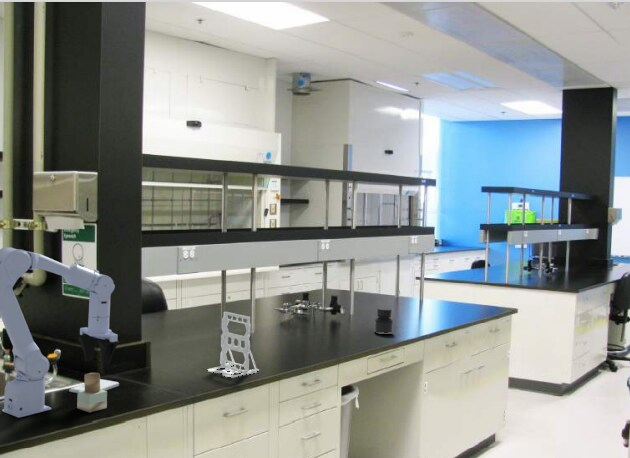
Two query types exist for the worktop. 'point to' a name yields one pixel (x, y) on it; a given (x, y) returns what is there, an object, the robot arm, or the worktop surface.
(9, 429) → the worktop surface
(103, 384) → the external hard drive
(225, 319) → the grey upright openwork frame
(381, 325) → the ink bottle
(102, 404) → the slab lower
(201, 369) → the worktop surface
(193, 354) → the worktop surface
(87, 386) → the beech cylinder
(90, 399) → the slab upper
